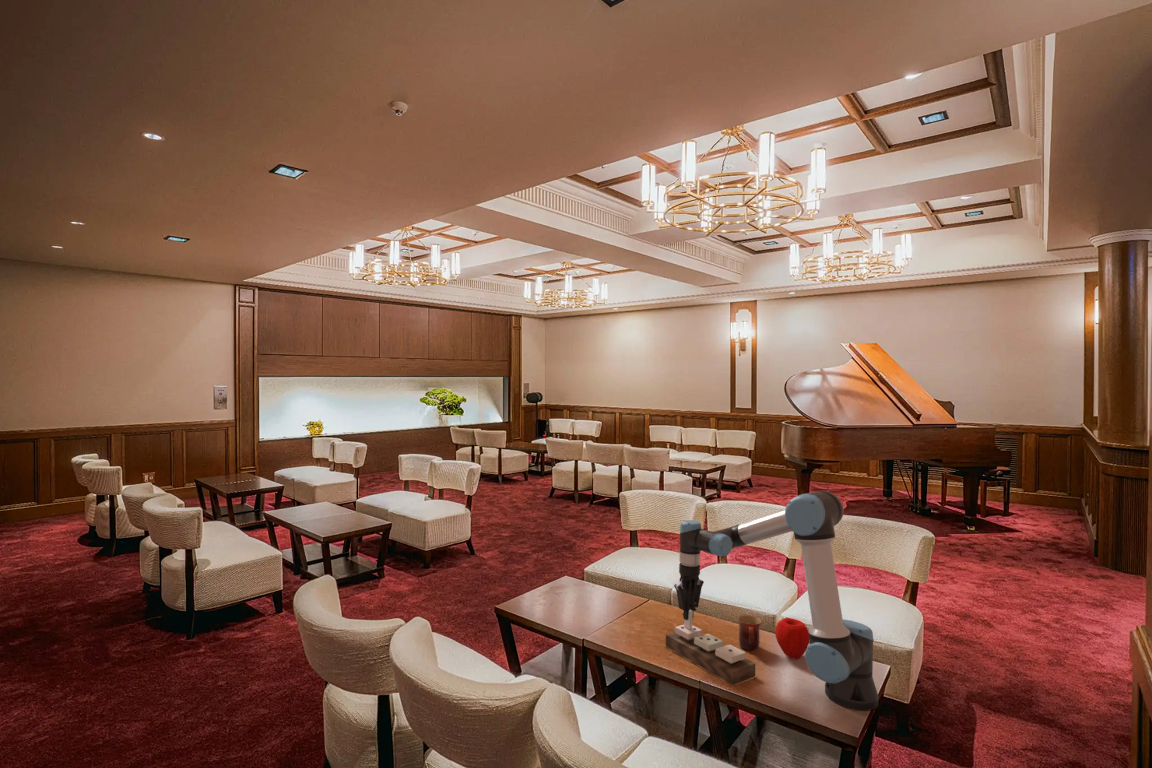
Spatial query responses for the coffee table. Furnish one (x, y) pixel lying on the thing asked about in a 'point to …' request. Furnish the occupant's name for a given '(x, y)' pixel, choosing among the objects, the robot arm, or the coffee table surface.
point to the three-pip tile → (708, 642)
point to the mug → (749, 632)
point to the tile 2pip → (688, 632)
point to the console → (711, 661)
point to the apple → (792, 637)
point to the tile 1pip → (730, 654)
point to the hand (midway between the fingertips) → (688, 627)
